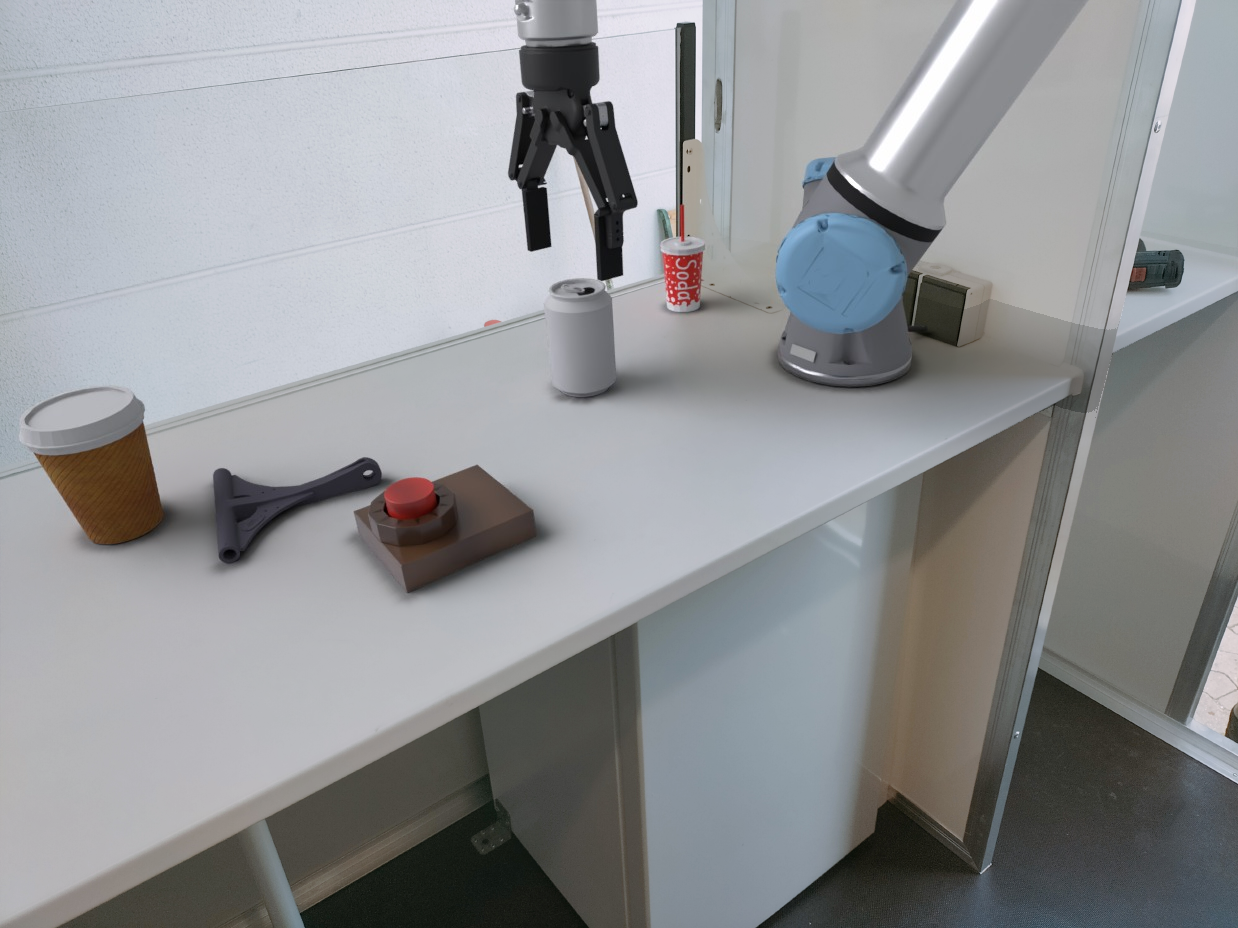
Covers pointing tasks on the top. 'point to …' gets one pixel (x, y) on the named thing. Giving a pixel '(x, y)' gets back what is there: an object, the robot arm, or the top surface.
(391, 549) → the button box
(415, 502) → the button
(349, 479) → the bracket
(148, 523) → the disposable coffee cup
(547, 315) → the can
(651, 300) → the top surface
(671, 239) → the beverage cup
